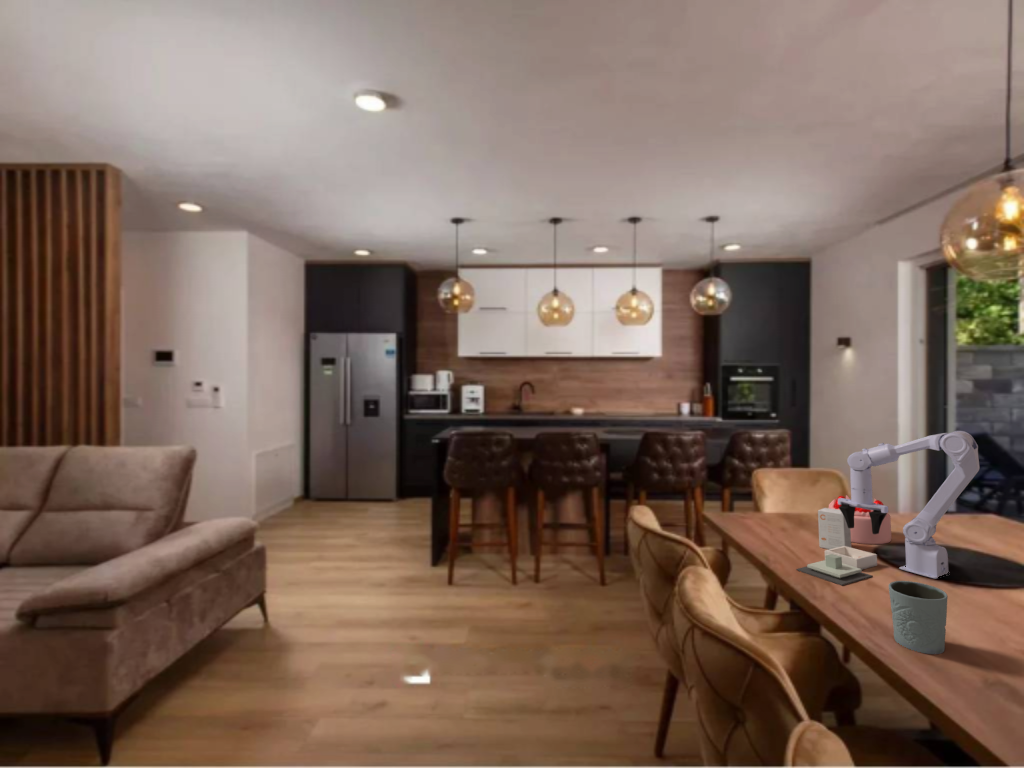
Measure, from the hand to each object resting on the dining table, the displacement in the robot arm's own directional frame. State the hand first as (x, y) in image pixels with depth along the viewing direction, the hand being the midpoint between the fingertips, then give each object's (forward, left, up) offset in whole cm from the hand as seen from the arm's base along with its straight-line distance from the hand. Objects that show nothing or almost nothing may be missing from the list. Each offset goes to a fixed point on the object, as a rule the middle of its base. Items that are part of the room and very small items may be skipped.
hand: (863, 530), depth 162 cm
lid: (-3, +20, -8) cm, 22 cm away
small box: (+12, -4, -10) cm, 16 cm away
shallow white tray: (0, +7, -9) cm, 12 cm away
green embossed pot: (-38, +45, -10) cm, 60 cm away
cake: (+16, -24, -10) cm, 30 cm away
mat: (-3, +20, -9) cm, 22 cm away
